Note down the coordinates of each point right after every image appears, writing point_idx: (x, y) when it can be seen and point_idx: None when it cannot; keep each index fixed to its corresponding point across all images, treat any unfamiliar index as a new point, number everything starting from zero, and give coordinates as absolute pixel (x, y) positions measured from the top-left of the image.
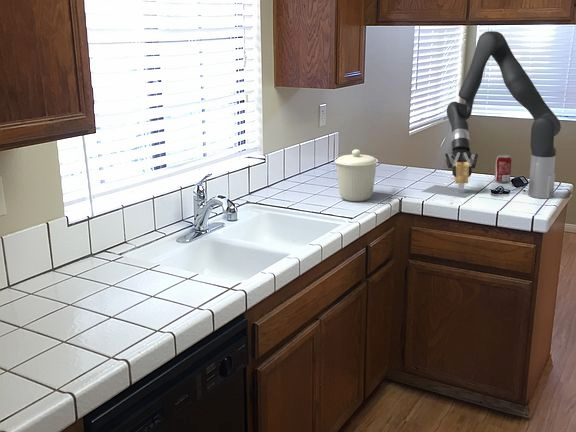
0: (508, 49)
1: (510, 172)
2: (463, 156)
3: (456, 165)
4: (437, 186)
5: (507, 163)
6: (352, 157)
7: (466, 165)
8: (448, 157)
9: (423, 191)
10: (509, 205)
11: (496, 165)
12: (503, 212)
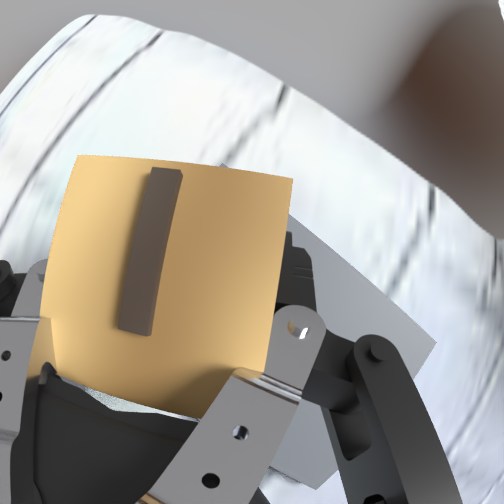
0: None
1: None
2: (44, 474)
3: (286, 211)
4: (317, 459)
5: None
6: None
7: (119, 165)
8: (416, 488)
9: (425, 341)
10: (66, 112)
11: None
12: (138, 38)
